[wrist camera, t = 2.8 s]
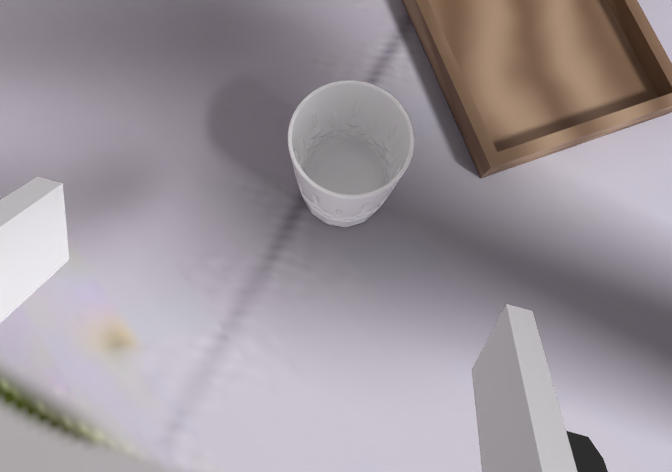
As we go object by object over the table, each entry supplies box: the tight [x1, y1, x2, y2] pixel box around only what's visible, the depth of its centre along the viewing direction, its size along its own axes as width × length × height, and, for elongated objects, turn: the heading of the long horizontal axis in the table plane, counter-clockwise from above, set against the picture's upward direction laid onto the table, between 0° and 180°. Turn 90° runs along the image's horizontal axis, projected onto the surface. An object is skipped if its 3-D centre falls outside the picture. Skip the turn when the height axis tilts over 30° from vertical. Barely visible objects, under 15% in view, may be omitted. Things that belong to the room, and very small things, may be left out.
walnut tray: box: [402, 0, 672, 178], centre depth 43 cm, size 18×18×2 cm
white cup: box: [288, 80, 414, 227], centre depth 36 cm, size 8×8×10 cm
